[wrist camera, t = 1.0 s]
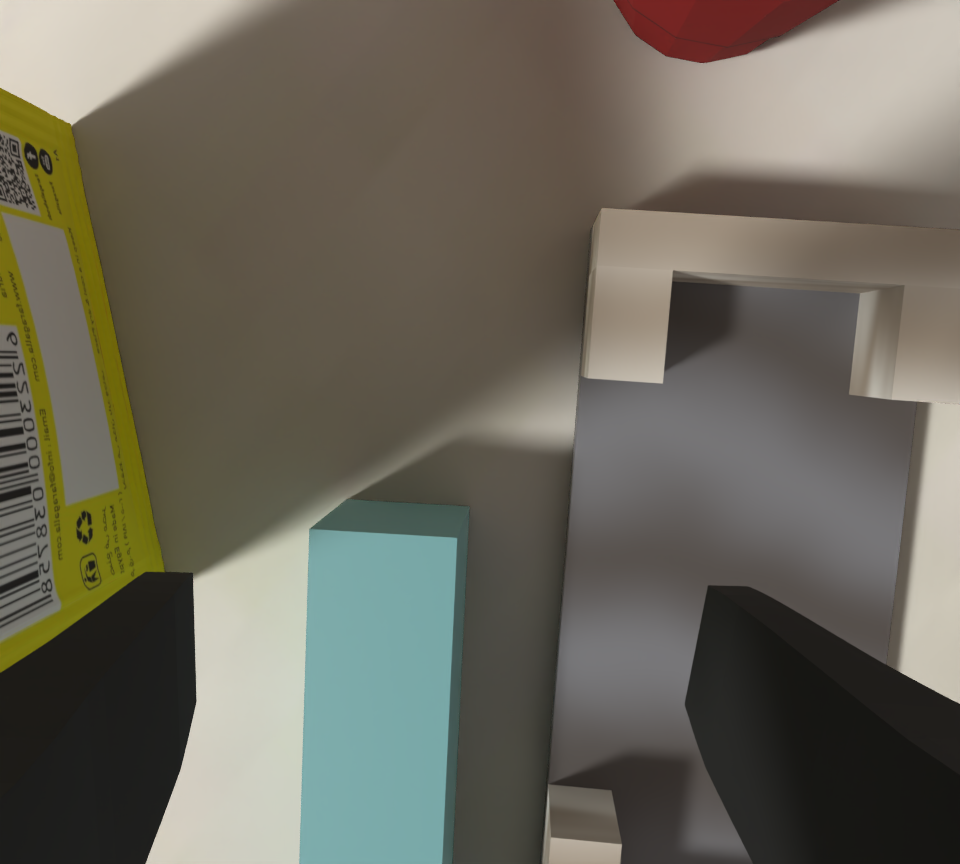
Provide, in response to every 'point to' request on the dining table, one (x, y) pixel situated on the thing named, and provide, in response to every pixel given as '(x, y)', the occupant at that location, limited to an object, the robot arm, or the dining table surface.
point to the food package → (59, 400)
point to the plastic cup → (714, 24)
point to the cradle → (727, 485)
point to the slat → (383, 683)
